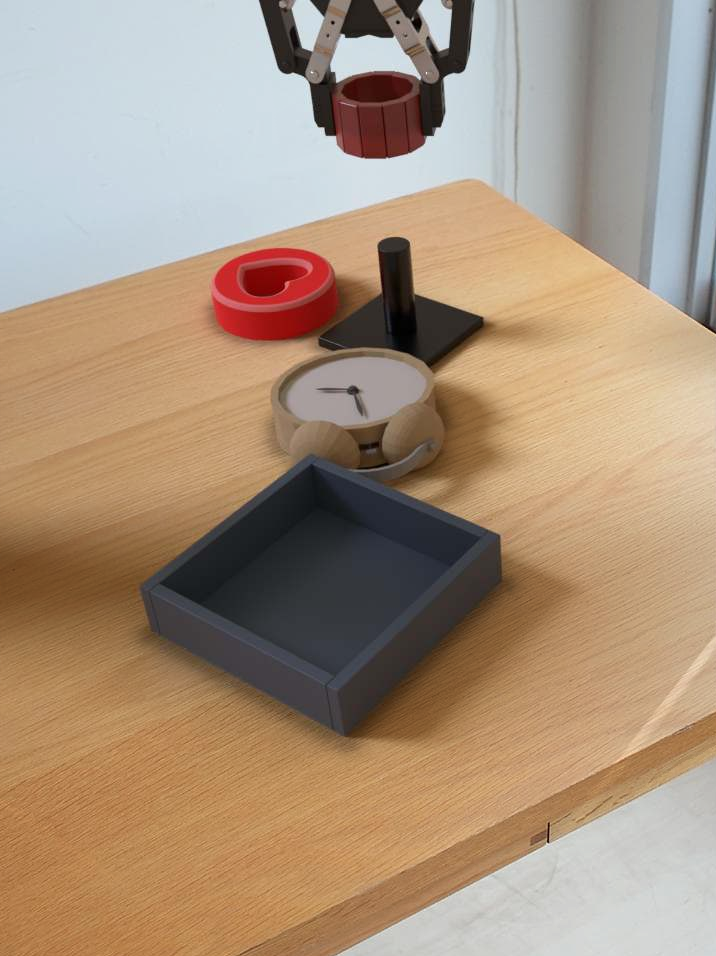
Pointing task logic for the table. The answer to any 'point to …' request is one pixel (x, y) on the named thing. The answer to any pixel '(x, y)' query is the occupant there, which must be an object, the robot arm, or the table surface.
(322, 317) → the decorative ornament
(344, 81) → the ring
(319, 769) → the table surface
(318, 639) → the box
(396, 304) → the post
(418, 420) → the alarm clock
